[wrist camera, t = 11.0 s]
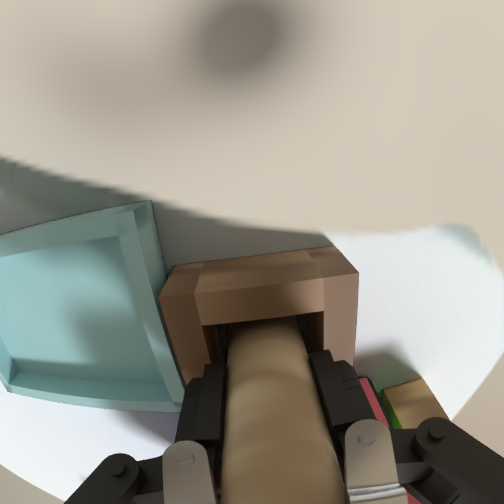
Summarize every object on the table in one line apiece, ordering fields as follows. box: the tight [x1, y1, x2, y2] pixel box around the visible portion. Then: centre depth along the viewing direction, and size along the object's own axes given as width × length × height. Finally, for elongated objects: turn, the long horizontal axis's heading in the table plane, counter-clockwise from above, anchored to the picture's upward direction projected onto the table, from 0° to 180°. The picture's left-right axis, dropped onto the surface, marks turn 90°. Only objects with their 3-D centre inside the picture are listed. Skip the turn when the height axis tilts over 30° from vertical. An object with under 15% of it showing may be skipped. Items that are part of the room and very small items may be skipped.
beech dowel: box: [220, 315, 345, 504], centre depth 9 cm, size 3×3×11 cm
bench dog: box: [381, 378, 450, 429], centre depth 15 cm, size 3×8×5 cm, turn 7°
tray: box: [0, 200, 186, 412], centre depth 13 cm, size 14×10×2 cm
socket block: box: [158, 246, 359, 386], centre depth 12 cm, size 7×7×3 cm
